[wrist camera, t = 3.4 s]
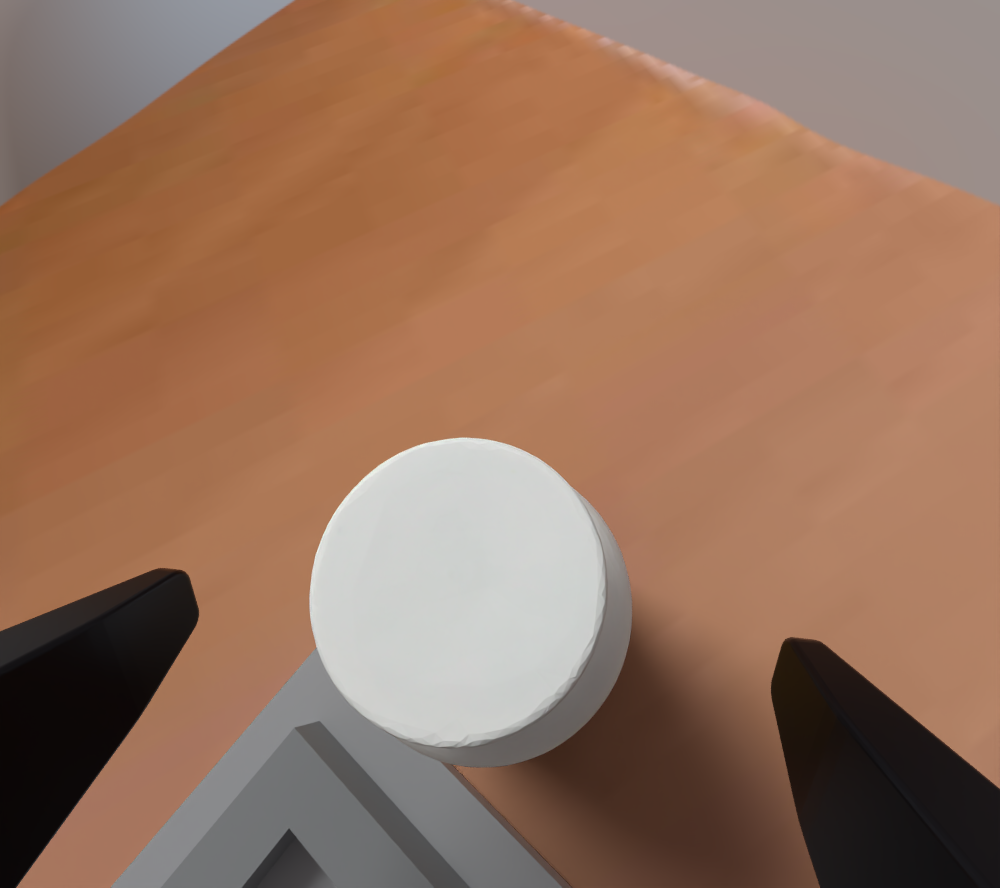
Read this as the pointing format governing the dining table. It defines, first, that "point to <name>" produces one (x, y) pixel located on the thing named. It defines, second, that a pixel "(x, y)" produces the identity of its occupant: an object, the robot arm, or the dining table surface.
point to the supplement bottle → (471, 603)
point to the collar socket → (333, 811)
